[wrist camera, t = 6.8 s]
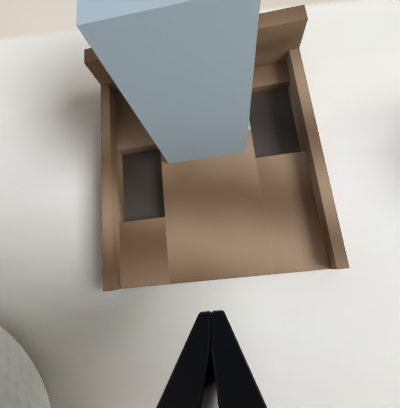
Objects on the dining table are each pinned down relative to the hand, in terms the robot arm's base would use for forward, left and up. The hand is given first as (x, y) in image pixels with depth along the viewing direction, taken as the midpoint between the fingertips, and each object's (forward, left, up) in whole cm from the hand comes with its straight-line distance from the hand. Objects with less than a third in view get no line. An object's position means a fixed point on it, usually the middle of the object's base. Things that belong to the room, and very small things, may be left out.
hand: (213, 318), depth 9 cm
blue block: (+7, +9, -6) cm, 13 cm away
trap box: (+5, +6, -7) cm, 10 cm away
